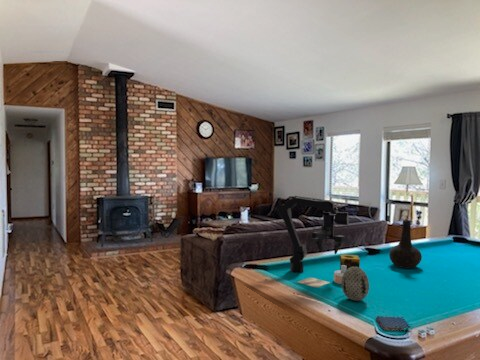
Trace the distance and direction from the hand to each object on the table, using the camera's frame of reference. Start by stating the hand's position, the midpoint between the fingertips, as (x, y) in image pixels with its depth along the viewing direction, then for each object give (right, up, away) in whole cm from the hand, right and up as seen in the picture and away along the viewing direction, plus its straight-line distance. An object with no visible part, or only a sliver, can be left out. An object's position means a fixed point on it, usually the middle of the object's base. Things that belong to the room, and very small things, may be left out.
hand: (327, 252), depth 203 cm
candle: (+13, -13, +5) cm, 20 cm away
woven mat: (+10, -16, -61) cm, 64 cm away
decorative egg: (+4, -15, -35) cm, 38 cm away
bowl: (+5, -14, -11) cm, 18 cm away
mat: (-10, -13, -12) cm, 21 cm away
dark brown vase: (+52, -13, +24) cm, 59 cm away
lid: (+5, -9, -11) cm, 15 cm away
